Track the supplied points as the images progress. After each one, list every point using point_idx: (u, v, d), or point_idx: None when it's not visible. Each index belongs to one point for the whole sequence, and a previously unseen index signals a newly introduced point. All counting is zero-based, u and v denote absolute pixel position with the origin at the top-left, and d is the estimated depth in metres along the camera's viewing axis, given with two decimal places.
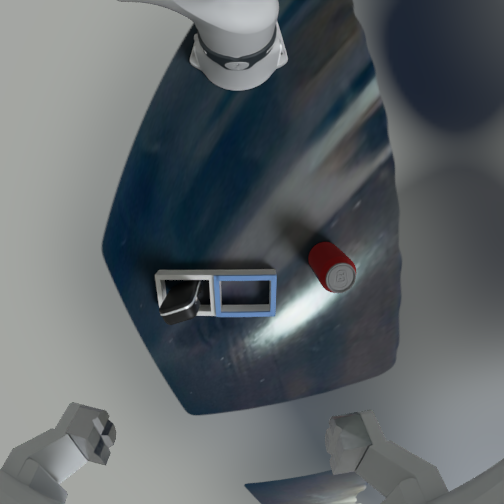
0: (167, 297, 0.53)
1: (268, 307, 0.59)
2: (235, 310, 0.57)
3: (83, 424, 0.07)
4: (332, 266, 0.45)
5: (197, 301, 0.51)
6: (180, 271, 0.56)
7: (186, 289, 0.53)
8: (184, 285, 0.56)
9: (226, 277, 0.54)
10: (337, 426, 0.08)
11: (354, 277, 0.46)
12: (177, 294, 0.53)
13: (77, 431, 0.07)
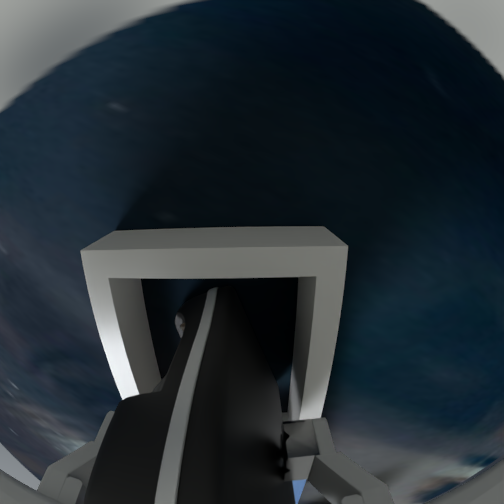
0: (236, 386, 0.07)
1: None
2: None
3: None
4: None
5: None
6: None
7: (277, 436, 0.09)
8: (264, 375, 0.11)
9: (300, 482, 0.12)
10: (285, 432, 0.07)
11: None
12: (263, 431, 0.07)
13: None
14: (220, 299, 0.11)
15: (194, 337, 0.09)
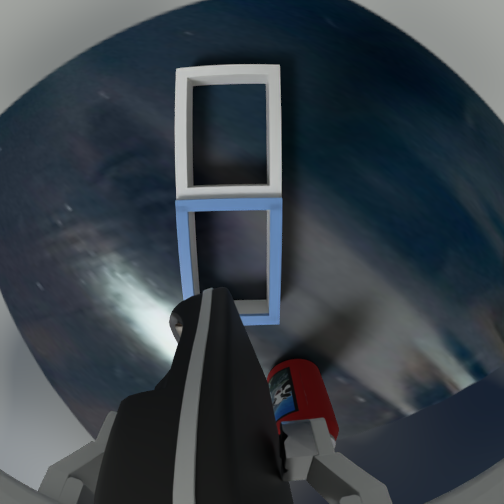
0: (238, 382, 0.07)
1: None
2: (191, 242, 0.25)
3: None
4: (332, 435, 0.22)
5: None
6: None
7: (273, 433, 0.09)
8: (258, 374, 0.11)
9: (278, 226, 0.24)
10: (284, 432, 0.07)
11: None
12: (262, 427, 0.08)
13: None
14: (216, 299, 0.11)
15: (194, 336, 0.09)
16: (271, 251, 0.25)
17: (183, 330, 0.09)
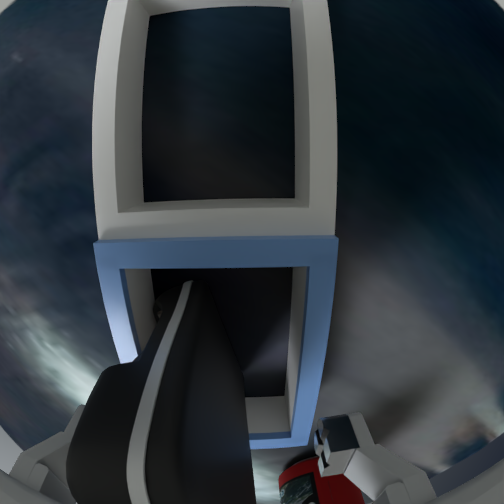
0: (202, 361, 0.08)
1: None
2: (139, 323, 0.12)
3: None
4: None
5: None
6: None
7: (238, 416, 0.10)
8: (230, 361, 0.13)
9: (325, 302, 0.10)
10: (324, 428, 0.08)
11: None
12: (224, 407, 0.09)
13: None
14: (194, 290, 0.12)
15: (169, 320, 0.10)
16: (305, 349, 0.11)
17: (161, 315, 0.11)
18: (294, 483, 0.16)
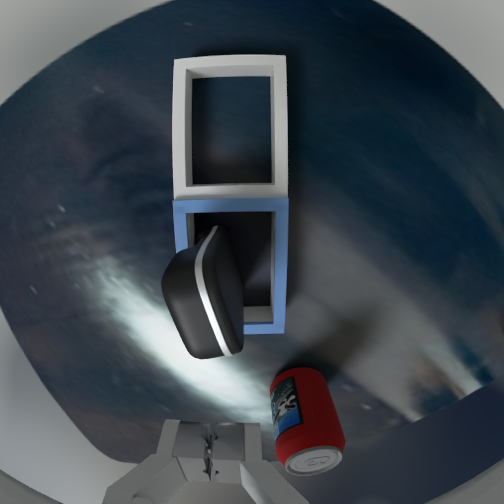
0: (222, 248, 0.20)
1: None
2: (190, 245, 0.24)
3: (192, 443, 0.07)
4: (338, 449, 0.20)
5: None
6: None
7: (238, 292, 0.22)
8: (235, 269, 0.25)
9: (284, 229, 0.22)
10: (215, 433, 0.07)
11: (310, 473, 0.21)
12: (231, 276, 0.21)
13: (187, 452, 0.07)
14: (218, 228, 0.24)
15: (207, 236, 0.22)
16: (276, 256, 0.23)
17: (203, 236, 0.23)
18: (280, 385, 0.28)
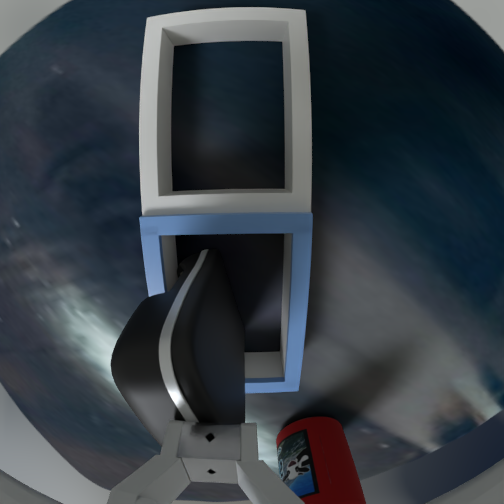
0: (212, 294, 0.13)
1: None
2: (168, 280, 0.16)
3: (196, 443, 0.07)
4: None
5: None
6: None
7: (237, 350, 0.15)
8: (233, 311, 0.17)
9: (305, 260, 0.15)
10: (212, 433, 0.07)
11: None
12: (226, 333, 0.13)
13: (191, 452, 0.07)
14: (209, 255, 0.17)
15: (191, 271, 0.15)
16: (292, 297, 0.16)
17: (185, 269, 0.15)
18: (290, 439, 0.21)
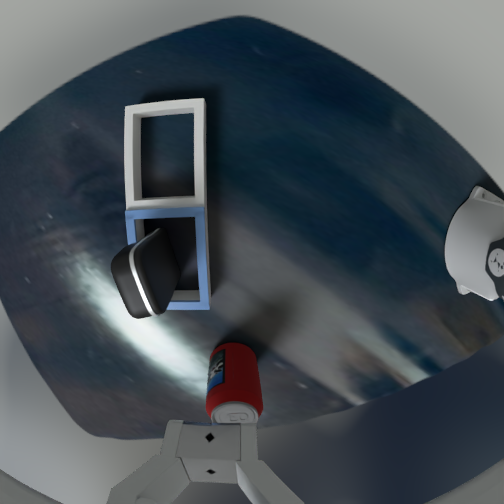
0: (155, 243, 0.28)
1: None
2: None
3: (195, 443, 0.07)
4: (253, 406, 0.28)
5: None
6: (205, 143, 0.30)
7: (170, 276, 0.30)
8: (171, 260, 0.32)
9: (202, 229, 0.30)
10: (211, 433, 0.07)
11: None
12: (162, 263, 0.29)
13: (191, 452, 0.07)
14: (159, 230, 0.32)
15: None
16: (197, 249, 0.31)
17: (146, 236, 0.30)
18: (214, 356, 0.36)
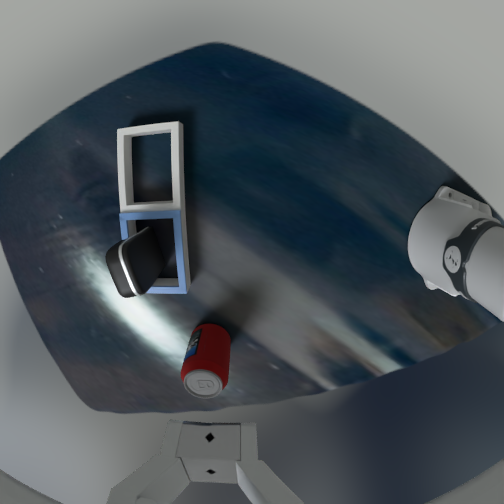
0: (141, 239, 0.35)
1: None
2: None
3: (196, 443, 0.07)
4: (217, 375, 0.35)
5: None
6: (182, 157, 0.37)
7: (153, 265, 0.37)
8: (156, 252, 0.40)
9: (178, 228, 0.37)
10: (211, 433, 0.07)
11: (205, 396, 0.36)
12: (147, 255, 0.36)
13: (191, 452, 0.07)
14: (147, 228, 0.39)
15: None
16: (175, 244, 0.38)
17: (136, 233, 0.38)
18: (193, 334, 0.43)
